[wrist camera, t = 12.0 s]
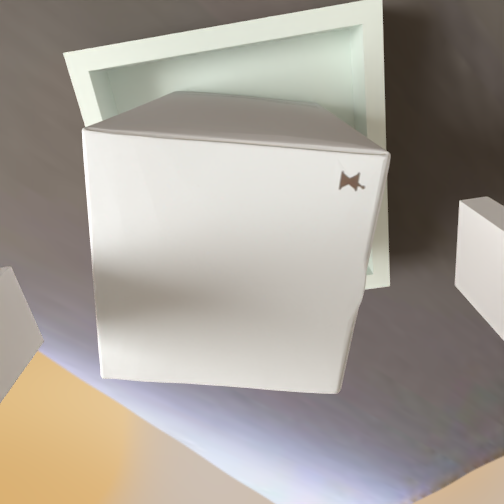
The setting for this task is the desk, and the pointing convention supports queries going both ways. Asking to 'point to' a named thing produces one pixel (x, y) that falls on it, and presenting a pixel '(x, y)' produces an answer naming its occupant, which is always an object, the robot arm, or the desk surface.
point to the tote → (256, 75)
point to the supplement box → (230, 240)
